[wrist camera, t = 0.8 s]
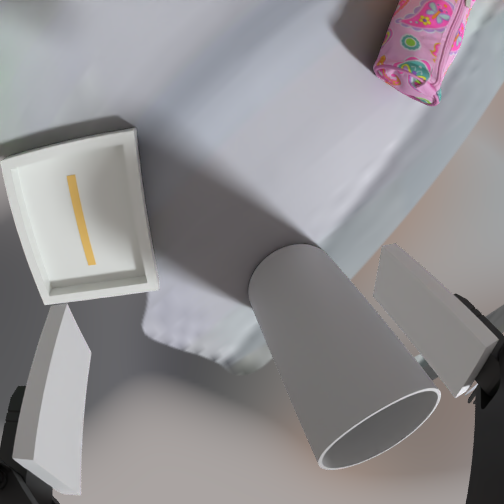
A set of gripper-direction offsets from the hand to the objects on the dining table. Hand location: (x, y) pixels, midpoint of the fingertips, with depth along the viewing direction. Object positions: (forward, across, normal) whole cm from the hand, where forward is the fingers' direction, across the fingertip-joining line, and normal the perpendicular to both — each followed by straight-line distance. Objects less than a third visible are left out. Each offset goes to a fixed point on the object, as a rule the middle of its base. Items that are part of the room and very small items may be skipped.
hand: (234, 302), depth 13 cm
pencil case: (+25, +29, +17) cm, 42 cm away
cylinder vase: (+24, +11, -18) cm, 33 cm away
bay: (+24, -13, -4) cm, 28 cm away
